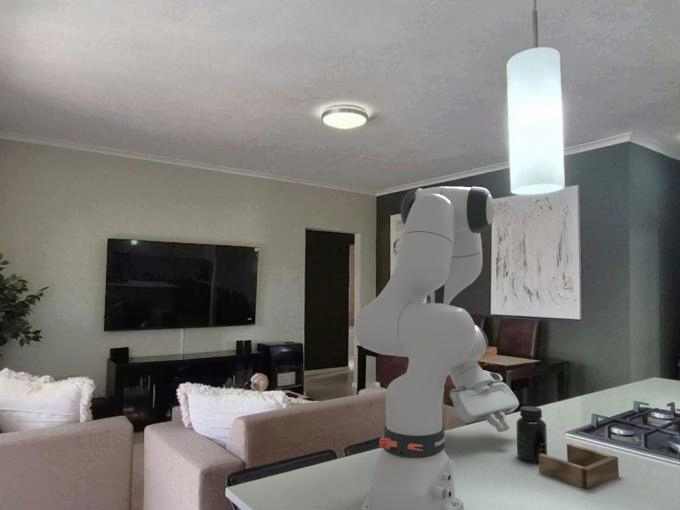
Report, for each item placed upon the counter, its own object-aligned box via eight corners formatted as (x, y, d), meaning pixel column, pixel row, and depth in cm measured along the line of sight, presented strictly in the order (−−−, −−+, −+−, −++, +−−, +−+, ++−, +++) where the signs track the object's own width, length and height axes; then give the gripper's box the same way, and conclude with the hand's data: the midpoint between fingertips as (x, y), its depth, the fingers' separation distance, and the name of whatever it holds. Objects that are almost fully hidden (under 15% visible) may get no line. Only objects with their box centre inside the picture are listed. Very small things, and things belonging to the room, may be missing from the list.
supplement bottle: (550, 465, 114) (548, 412, 115) (519, 463, 116) (518, 411, 116) (544, 454, 121) (542, 405, 122) (515, 453, 122) (513, 404, 123)
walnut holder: (539, 472, 110) (538, 454, 110) (570, 460, 117) (569, 443, 117) (587, 490, 101) (587, 470, 101) (618, 475, 108) (617, 457, 108)
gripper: (452, 382, 126) (484, 430, 117) (503, 373, 138) (535, 416, 129) (440, 397, 130) (470, 444, 121) (491, 386, 141) (521, 429, 132)
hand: (504, 430), depth 125 cm, fingers closed
